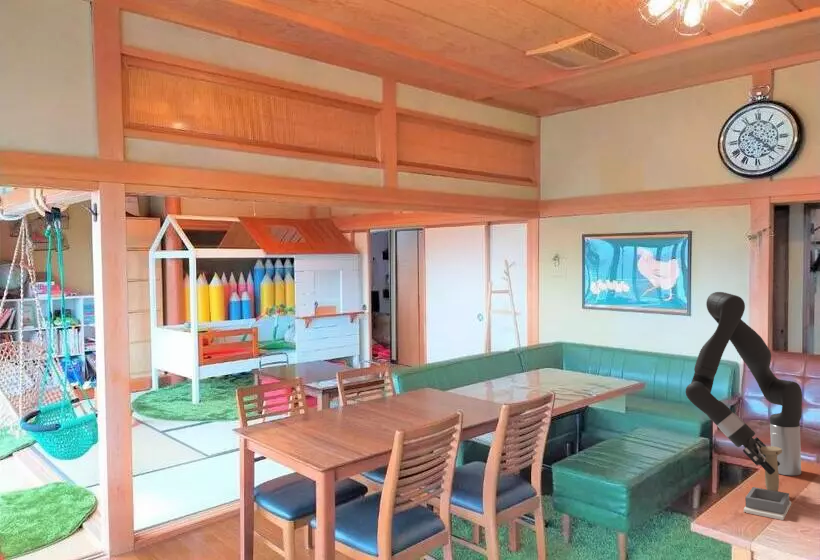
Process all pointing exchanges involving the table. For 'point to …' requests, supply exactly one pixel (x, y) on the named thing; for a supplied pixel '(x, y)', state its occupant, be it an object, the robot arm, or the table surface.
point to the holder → (767, 503)
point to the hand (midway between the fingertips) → (775, 469)
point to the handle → (771, 458)
